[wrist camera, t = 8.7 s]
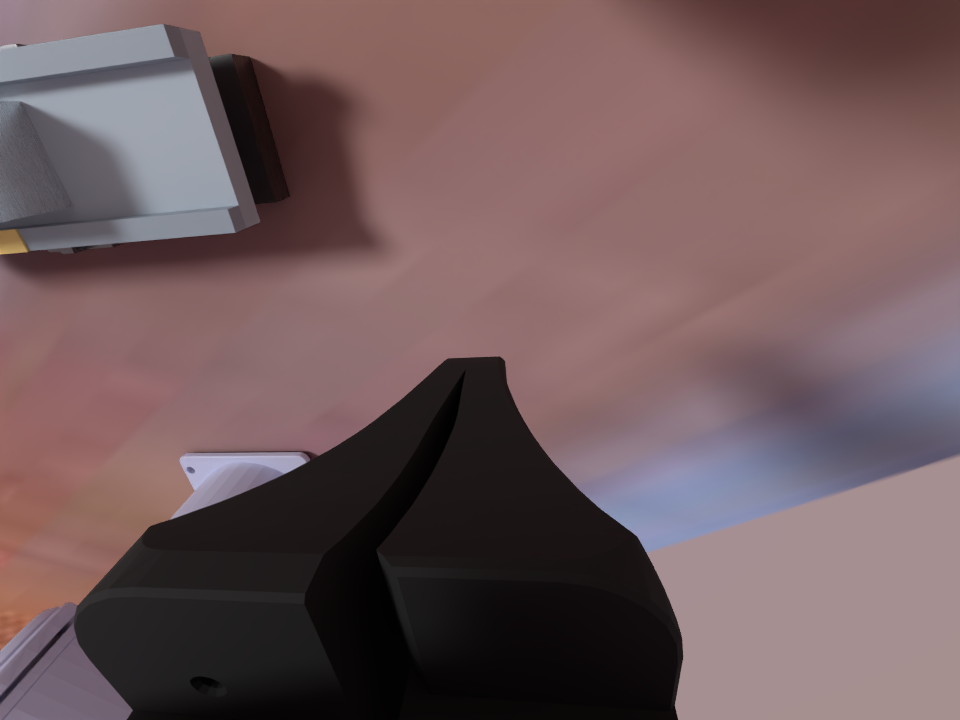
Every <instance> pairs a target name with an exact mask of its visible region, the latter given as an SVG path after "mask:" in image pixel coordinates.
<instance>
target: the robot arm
mask: <svg viewBox="0 0 960 720" xmlns="http://www.w3.org/2000/svg"><path fill="white" fill-rule="evenodd" d="M180 464H181V466H182V467H183V469H184V471H185V473H186V475H187V477H188V479H189V481H190V483H191V485H192V486H193V488H194V490H195V491H194V493H193V494H192V495H191V496H190V497H189V498H188V499H187V500H186V502H185V503H184V504H183V505H182V506H181V507H180V508H179V509H178V511H177V512H176V513H175V514H174V515H173V516H172V517H171V518H170V520H168V521H165V522H162V523H159V524H156V525H152V526H150V527H149V528H148V529H147V530H146V532H145V533H144V534H143V535H142V536H141V537H140V538H139V539H138V540H137V541H136V542H135V544H134V545H133V546H132V547H131V548H130V549H129V550H128V551H127V552H126V553H125V555H124V556H123V557H122V558H121V559H120V560H119V561H118V562H117V563H116V564H115V565H114V567H113V568H112V569H111V570H110V571H109V572H108V573H107V574H106V575H105V576H104V578H103V579H102V580H101V581H100V582H99V583H98V584H97V585H96V586H95V587H94V588H93V590H92V591H91V592H90V593H89V594H88V595H87V596H86V597H85V598H84V599H83V601H82V602H81V603H80V604H79V605H76V604H74V603H71V602H68V603H65V604H64V605H63V606H61V607H55V608H51V609H47V610H44V611H42V612H41V613H40V614H39V615H37V616H36V617H35V618H34V619H33V620H32V621H31V622H30V623H29V624H28V625H26V626H25V627H24V628H23V629H22V630H21V631H20V632H19V633H18V634H17V635H16V636H15V637H14V638H13V639H12V640H11V641H10V642H9V643H8V644H7V645H6V646H5V647H4V648H3V649H2V650H1V651H0V720H678V718H677V714H676V709H675V700H676V695H677V689H678V683H679V678H680V672H681V666H682V660H683V648H682V637H681V632H680V629H679V626H678V622H677V619H676V617H675V614H674V612H673V609H672V606H671V604H670V601H669V599H668V597H667V594H666V592H665V589H664V587H663V585H662V583H661V581H660V579H659V577H658V575H657V573H656V571H655V569H654V566H653V565H652V563H651V561H650V559H649V557H648V555H647V553H646V552H645V550H644V548H643V546H642V544H641V543H640V541H639V539H638V537H637V536H636V535H634V534H633V533H632V532H631V531H629V530H628V529H626V528H625V527H624V526H622V525H621V524H620V523H618V522H617V521H616V520H614V519H613V518H612V517H610V516H609V515H608V514H606V513H605V512H604V511H602V510H601V509H600V508H599V507H597V506H596V505H595V504H594V503H593V502H592V501H591V500H590V499H589V498H587V497H586V496H585V495H584V494H583V493H582V492H581V491H580V490H579V489H578V488H577V487H576V486H575V485H574V484H573V483H572V482H571V481H570V480H569V479H568V478H567V477H566V476H565V475H564V473H563V472H562V471H561V470H560V469H559V468H558V467H557V466H556V465H555V464H554V463H553V462H552V460H551V459H550V458H549V456H548V455H547V454H546V453H545V451H544V450H543V449H542V448H541V446H540V445H539V443H538V442H537V441H536V439H535V438H534V436H533V435H532V433H531V432H530V430H529V428H528V427H527V425H526V423H525V422H524V420H523V418H522V416H521V414H520V413H519V411H518V409H517V407H516V405H515V402H514V400H513V398H512V395H511V393H510V390H509V388H508V385H507V378H506V367H505V361H504V360H503V359H502V358H501V357H475V358H449V359H447V360H445V361H444V362H443V363H442V364H441V365H439V366H438V367H437V368H436V369H435V370H434V371H433V372H432V373H431V374H430V375H428V376H427V377H426V378H425V379H424V380H423V381H422V382H421V383H420V384H418V385H417V386H416V387H415V388H414V389H413V390H412V391H411V392H409V393H408V394H407V395H406V396H405V397H404V398H403V399H401V400H400V401H399V402H398V403H396V404H395V405H394V406H392V407H391V408H390V409H389V410H387V411H386V412H385V413H384V414H382V415H381V416H380V417H379V418H377V419H376V420H375V421H373V422H372V423H371V424H369V425H368V426H367V427H365V428H364V429H362V430H361V431H359V432H358V433H356V434H355V435H353V436H352V437H350V438H348V439H347V440H345V441H344V442H342V443H341V444H339V445H337V446H336V447H334V448H332V449H331V450H329V451H327V452H325V453H323V454H322V455H320V456H318V457H316V458H314V459H312V460H310V459H309V457H308V456H307V455H306V454H305V453H302V452H252V453H186V454H184V455H183V456H182V457H181V458H180Z"/></svg>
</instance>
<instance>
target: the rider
mask: <svg viewBox="0 0 960 720" xmlns="http://www.w3.org/2000/svg"><path fill="white" fill-rule="evenodd" d="M69 207H74V206H73V204H72V202H71V200H70V198H69V196H68V194H67V192H66V190H65V188H64V186H63V184H62V182H61V180H60V178H59V176H58V174H57V172H56V170H55V168H54V166H53V164H52V162H51V160H50V158H49V155H48V153H47V151H46V149H45V147H44V145H43V143H42V141H41V139H40V137H39V135H38V133H37V131H36V129H35V127H34V125H33V123H32V121H31V119H30V117H29V115H28V113H27V111H26V109H25V107H24V105H23V103H22V101H0V223H1V222H5V221H10V220H15V219H19V218H24V217H28V216H33V215H37V214H42V213H46V212H51V211H55V210H60V209H64V208H69Z"/></svg>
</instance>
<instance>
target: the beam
mask: <svg viewBox="0 0 960 720" xmlns="http://www.w3.org/2000/svg"><path fill="white" fill-rule="evenodd" d="M0 101H22V103H23V105H24V107H25V109H26V111H27V113H28V115H29V117H30V119H31V121H32V123H33V125H34V127H35V129H36V131H37V133H38V135H39V137H40V139H41V141H42V143H43V145H44V147H45V149H46V151H47V153H48V155H49V158H50V160H51V162H52V164H53V166H54V168H55V170H56V172H57V174H58V176H59V178H60V180H61V182H62V184H63V186H64V188H65V190H66V192H67V194H68V196H69V198H70V200H71V202H72V204H73V206H74V207H69V208H64V209H60V210H55V211H51V212H46V213H42V214H37V215H33V216H28V217H24V218H19V219H15V220H10V221H5V222H1V223H0V254H11V253H23V252H30V251H35V250H46V249H57V248H69V247H80V246H91V245H102V244H114V243H125V242H136V241H148V240H159V239H170V238H182V237H193V236H204V235H216V234H227V233H236V232H239V231H241V230H243V229H246V228H248V227H250V226H253V225H255V224H257V223H260V219H259V216H258V213H257V209H256V206H255V203H254V200H253V197H252V194H251V191H250V188H249V184H248V181H247V178H246V175H245V172H244V169H243V166H242V162H241V159H240V156H239V153H238V150H237V147H236V144H235V141H234V137H233V134H232V131H231V128H230V125H229V122H228V119H227V116H226V112H225V109H224V106H223V103H222V100H221V97H220V94H219V90H218V87H217V84H216V81H215V78H214V75H213V72H212V69H211V65H210V62H209V59H208V56H207V53H206V50H205V47H204V44H203V40H202V37H201V34H200V32H198V31H193V30H189V29H184V28H179V27H175V26H170V25H166V24H159V25H153V26H146V27H140V28H134V29H128V30H121V31H115V32H109V33H102V34H96V35H90V36H83V37H77V38H71V39H64V40H58V41H52V42H45V43H39V44H33V45H27V46H20V47H14V48H8V49H1V50H0Z"/></svg>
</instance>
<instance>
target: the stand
mask: <svg viewBox="0 0 960 720" xmlns="http://www.w3.org/2000/svg"><path fill="white" fill-rule="evenodd" d="M20 46H27V45H22V44H12V45H6V46H0V50H1V49H8V48H14V47H20ZM208 59H209V62H210V65H211V69H212V72H213V75H214V78H215V81H216V84H217V87H218V90H219V94H220V97H221V100H222V103H223V106H224V109H225V112H226V116H227V119H228V122H229V125H230V128H231V131H232V134H233V137H234V141H235V144H236V147H237V150H238V153H239V156H240V159H241V162H242V166H243V169H244V172H245V175H246V178H247V181H248V184H249V188H250V191H251V194H252V197H253V200H254V203H255V204H261V203H271V202H277V201H280V200H283V199H285V198H288V197H290V196H289V193H288V189H287V186H286V182H285V179H284V175H283V172H282V168H281V165H280V161H279V158H278V154H277V151H276V147H275V144H274V140H273V137H272V133H271V129H270V126H269V122H268V119H267V115H266V112H265V108H264V105H263V101H262V98H261V94H260V91H259V87H258V84H257V80H256V77H255V73H254V69H253V66H252V62H251V59H250V57H247V56H241V55H235V54H227V55H220V56H214V57H208ZM125 243H127V242H125ZM121 244H124V243H114V244H102V245H91V246H80V247H69V248H57V249H47V250H48V252H61V253H62V254H72V253H77V252H80V251H83V250H86V249H97V248H109V247H115V246H118V245H121Z"/></svg>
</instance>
